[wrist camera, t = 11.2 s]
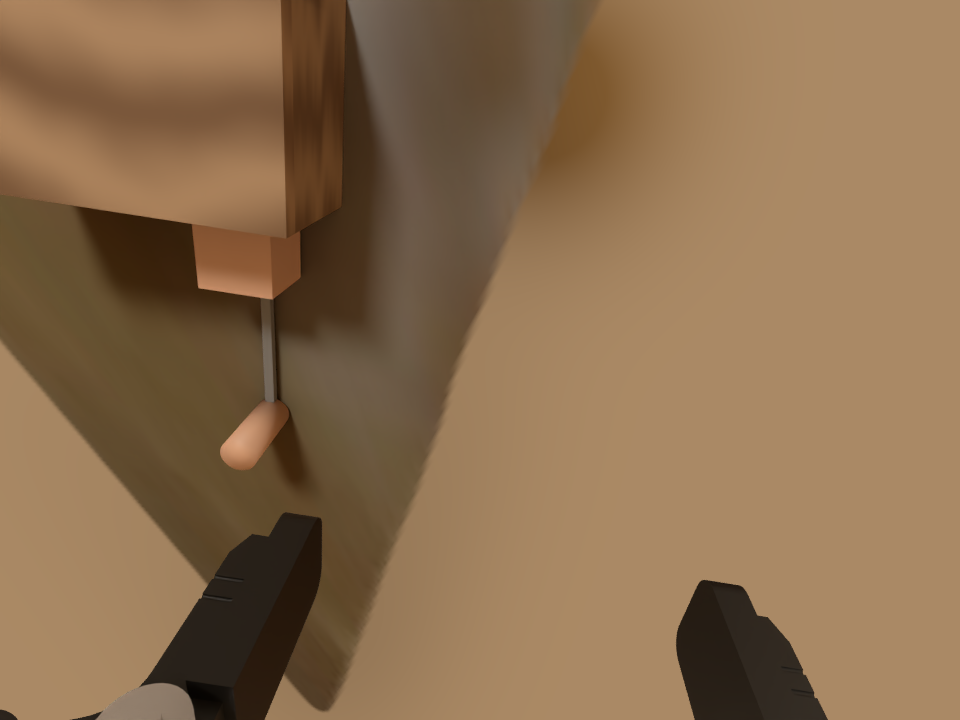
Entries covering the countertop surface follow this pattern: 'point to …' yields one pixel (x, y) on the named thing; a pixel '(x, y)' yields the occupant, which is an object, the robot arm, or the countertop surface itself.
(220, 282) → the tethered block
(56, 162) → the walnut shelf
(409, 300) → the countertop surface
